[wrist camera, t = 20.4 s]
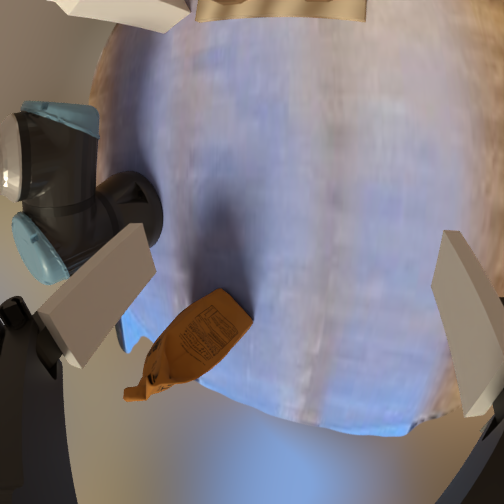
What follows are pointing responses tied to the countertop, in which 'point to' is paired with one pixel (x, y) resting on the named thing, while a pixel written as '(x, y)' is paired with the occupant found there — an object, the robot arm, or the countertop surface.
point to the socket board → (280, 9)
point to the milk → (130, 12)
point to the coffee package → (192, 344)
